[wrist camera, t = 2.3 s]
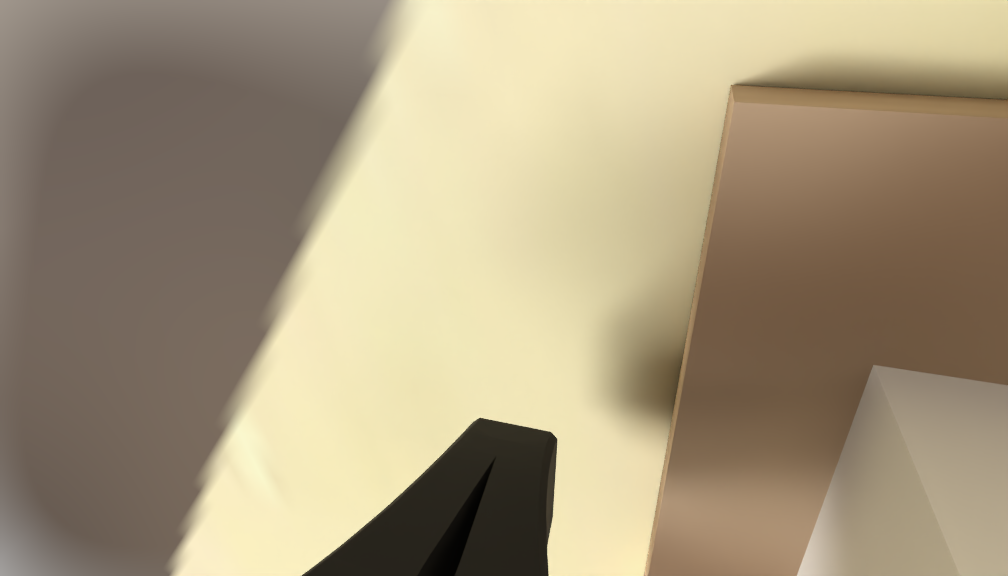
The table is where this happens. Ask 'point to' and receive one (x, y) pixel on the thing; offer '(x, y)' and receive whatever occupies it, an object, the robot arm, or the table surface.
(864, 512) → the white open box
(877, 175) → the subfloor
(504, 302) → the table surface
